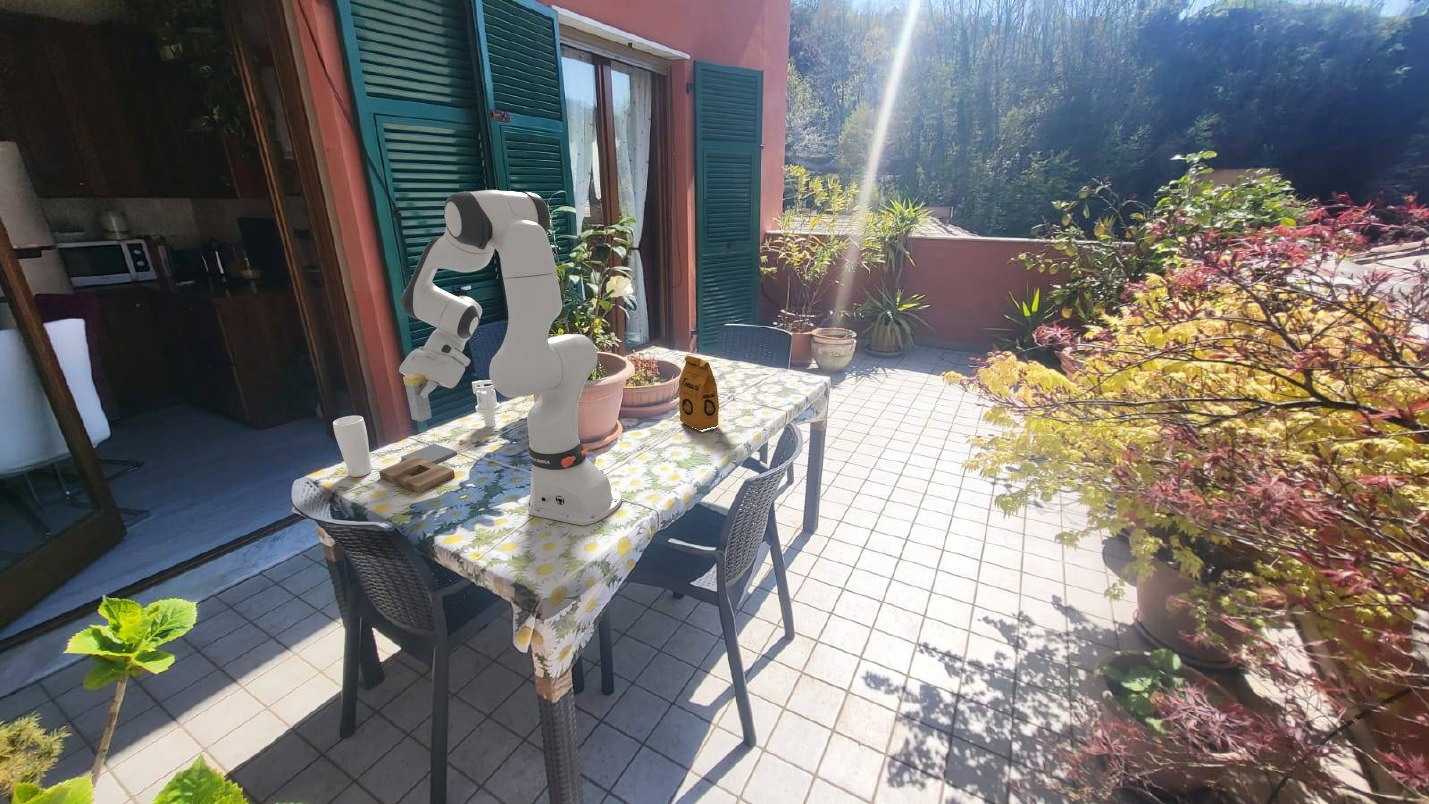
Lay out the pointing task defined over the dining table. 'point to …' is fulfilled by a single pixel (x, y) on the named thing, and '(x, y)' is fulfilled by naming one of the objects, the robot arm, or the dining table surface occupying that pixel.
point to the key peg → (417, 397)
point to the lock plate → (421, 482)
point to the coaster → (432, 453)
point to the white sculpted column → (486, 401)
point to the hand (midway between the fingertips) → (415, 395)
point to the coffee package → (698, 394)
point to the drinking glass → (353, 444)
